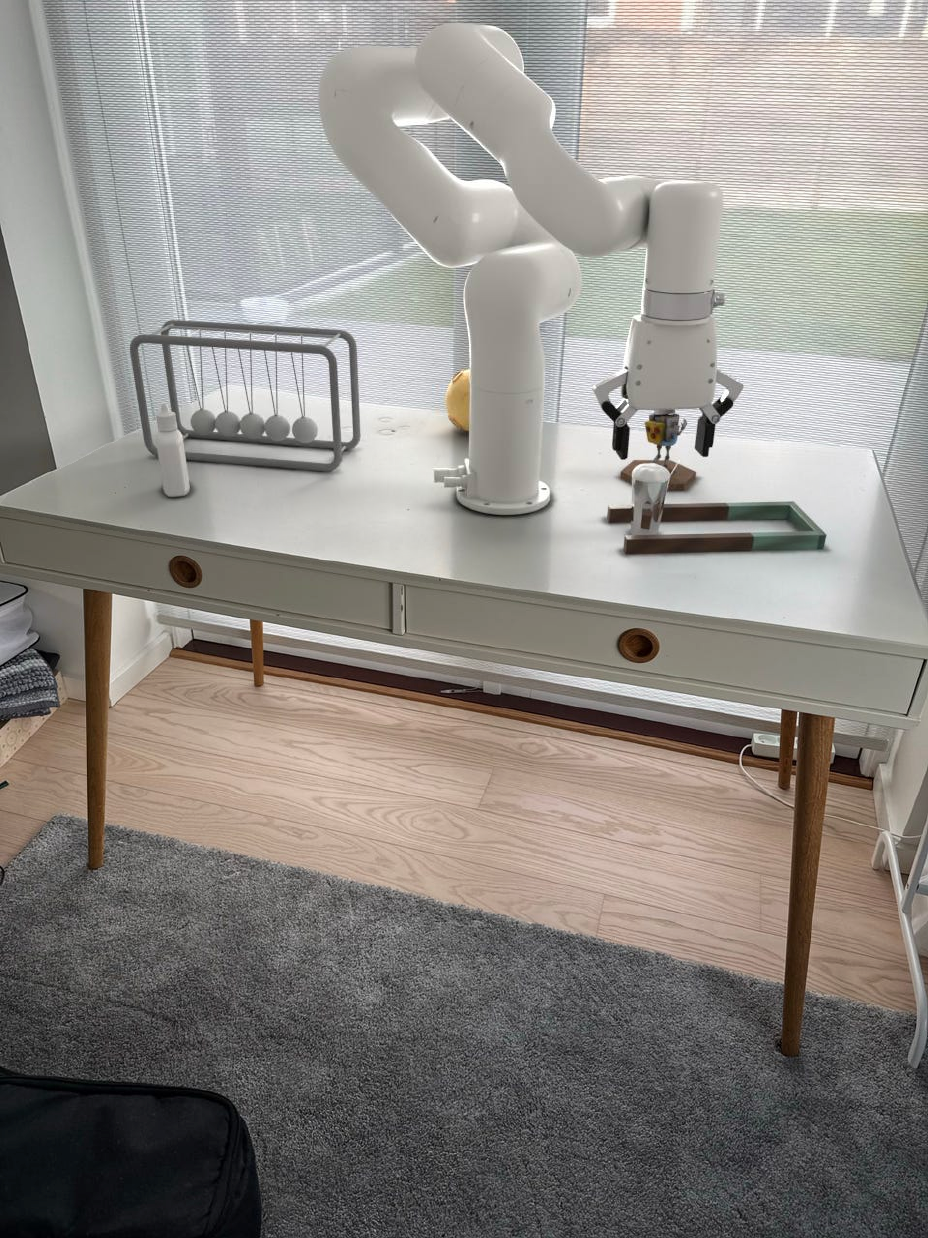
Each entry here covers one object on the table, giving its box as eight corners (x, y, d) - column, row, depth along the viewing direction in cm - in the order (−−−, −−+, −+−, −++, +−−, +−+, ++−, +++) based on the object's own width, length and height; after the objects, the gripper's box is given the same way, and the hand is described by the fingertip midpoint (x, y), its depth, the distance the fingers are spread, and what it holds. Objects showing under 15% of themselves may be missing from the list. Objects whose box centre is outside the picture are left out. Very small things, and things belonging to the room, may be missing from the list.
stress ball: (439, 422, 155) (439, 361, 150) (497, 419, 157) (499, 358, 152) (453, 442, 147) (453, 378, 142) (514, 438, 149) (516, 375, 144)
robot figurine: (710, 485, 133) (723, 401, 127) (659, 497, 129) (670, 411, 123) (657, 460, 141) (667, 380, 135) (608, 471, 137) (616, 389, 131)
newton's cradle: (362, 449, 144) (357, 329, 135) (341, 473, 135) (334, 347, 126) (177, 434, 148) (160, 318, 140) (145, 457, 139) (125, 334, 131)
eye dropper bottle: (201, 484, 131) (189, 398, 125) (182, 499, 126) (169, 411, 120) (172, 481, 132) (159, 396, 126) (152, 496, 127) (137, 408, 121)
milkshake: (668, 545, 116) (679, 467, 111) (624, 540, 116) (632, 463, 112) (669, 530, 119) (679, 454, 115) (626, 526, 120) (634, 450, 115)
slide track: (625, 554, 113) (627, 539, 112) (606, 519, 122) (608, 504, 121) (823, 549, 115) (827, 534, 114) (790, 515, 124) (793, 501, 123)
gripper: (741, 297, 108) (722, 442, 116) (591, 300, 107) (583, 446, 115) (765, 310, 101) (743, 463, 110) (605, 314, 100) (595, 468, 109)
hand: (661, 454), depth 112 cm, fingers open, 9 cm apart
